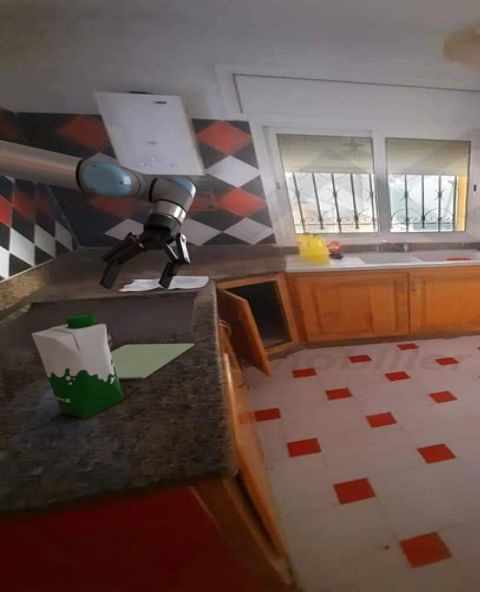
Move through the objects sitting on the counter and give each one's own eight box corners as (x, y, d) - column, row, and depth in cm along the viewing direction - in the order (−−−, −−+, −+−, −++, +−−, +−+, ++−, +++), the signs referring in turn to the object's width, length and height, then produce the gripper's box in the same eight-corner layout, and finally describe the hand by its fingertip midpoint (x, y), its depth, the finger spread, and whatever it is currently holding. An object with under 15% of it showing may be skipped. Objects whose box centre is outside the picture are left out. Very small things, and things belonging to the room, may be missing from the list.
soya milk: (131, 398, 71) (108, 314, 66) (79, 423, 63) (48, 329, 57) (105, 391, 74) (81, 310, 68) (52, 414, 65) (19, 324, 60)
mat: (57, 381, 77) (57, 378, 77) (126, 346, 97) (125, 344, 96) (143, 379, 79) (143, 376, 79) (194, 345, 98) (194, 343, 98)
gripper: (217, 231, 93) (195, 293, 83) (127, 230, 91) (93, 294, 81) (203, 212, 86) (177, 278, 76) (106, 211, 85) (66, 278, 74)
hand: (134, 286), depth 79 cm, fingers open, 13 cm apart
